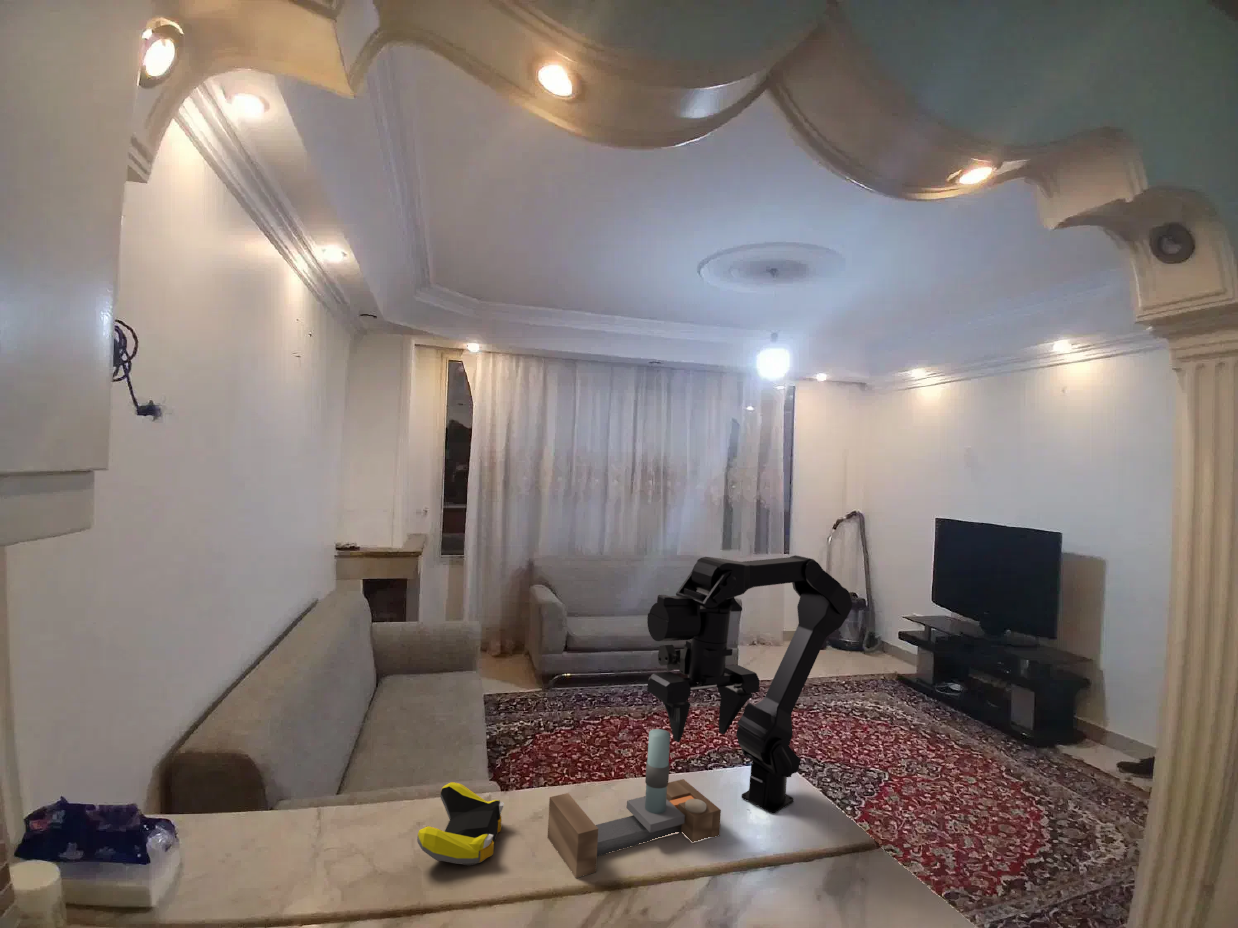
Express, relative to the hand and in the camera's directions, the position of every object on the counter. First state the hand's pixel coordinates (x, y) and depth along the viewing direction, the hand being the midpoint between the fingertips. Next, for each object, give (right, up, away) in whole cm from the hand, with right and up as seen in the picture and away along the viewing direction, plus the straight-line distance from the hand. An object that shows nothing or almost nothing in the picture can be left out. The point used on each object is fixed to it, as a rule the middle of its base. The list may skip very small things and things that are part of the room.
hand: (699, 736), depth 102 cm
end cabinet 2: (-2, -13, -1) cm, 13 cm away
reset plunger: (-3, -11, -1) cm, 11 cm away
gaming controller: (-35, -12, -9) cm, 38 cm away
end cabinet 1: (-20, -12, -10) cm, 25 cm away
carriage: (-7, -11, -4) cm, 13 cm away
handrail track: (-10, -13, -5) cm, 17 cm away
